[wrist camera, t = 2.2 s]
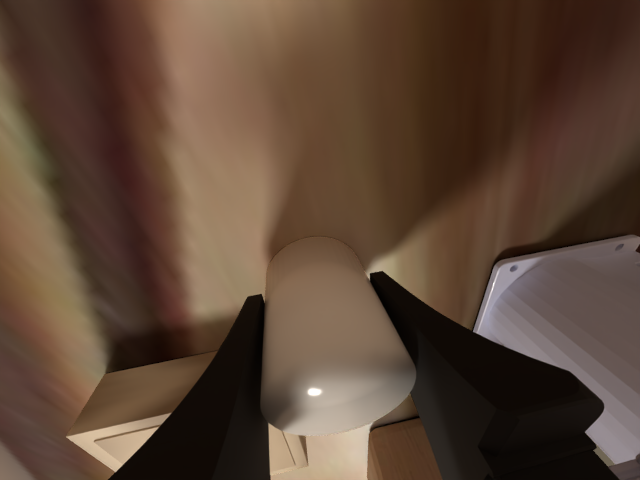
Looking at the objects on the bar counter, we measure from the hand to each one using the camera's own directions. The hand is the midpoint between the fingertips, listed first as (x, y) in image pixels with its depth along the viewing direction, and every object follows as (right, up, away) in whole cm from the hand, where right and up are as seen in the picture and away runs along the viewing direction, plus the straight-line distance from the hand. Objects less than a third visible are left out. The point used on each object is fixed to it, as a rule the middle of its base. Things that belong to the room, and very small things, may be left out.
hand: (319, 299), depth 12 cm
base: (-7, -8, +5) cm, 12 cm away
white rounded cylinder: (0, +1, +1) cm, 2 cm away
